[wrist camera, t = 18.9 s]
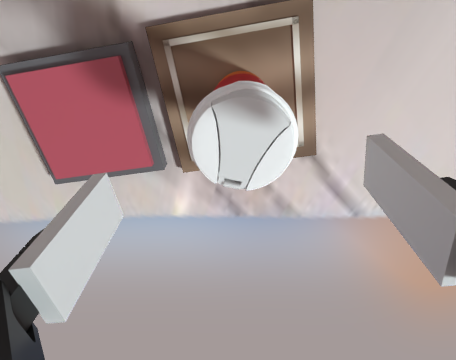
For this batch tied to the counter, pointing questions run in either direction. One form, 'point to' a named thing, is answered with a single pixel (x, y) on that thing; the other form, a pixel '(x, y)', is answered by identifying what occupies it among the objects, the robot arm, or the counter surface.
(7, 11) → the counter surface
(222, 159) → the paper cup
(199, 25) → the marked board
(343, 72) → the counter surface
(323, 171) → the counter surface
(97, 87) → the ink pad
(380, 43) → the counter surface
